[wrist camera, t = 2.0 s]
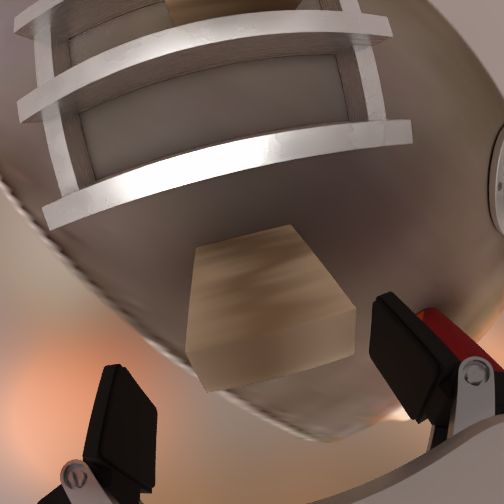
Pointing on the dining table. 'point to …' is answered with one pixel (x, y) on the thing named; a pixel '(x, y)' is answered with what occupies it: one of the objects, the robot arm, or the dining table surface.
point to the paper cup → (454, 337)
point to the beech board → (264, 310)
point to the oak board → (221, 8)
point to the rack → (184, 62)
